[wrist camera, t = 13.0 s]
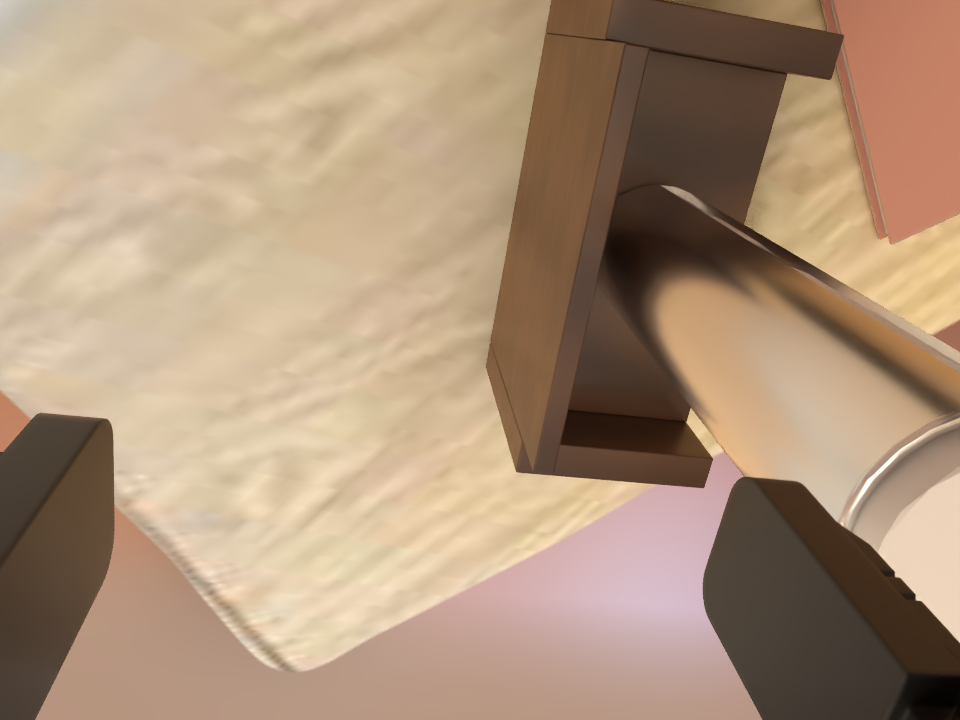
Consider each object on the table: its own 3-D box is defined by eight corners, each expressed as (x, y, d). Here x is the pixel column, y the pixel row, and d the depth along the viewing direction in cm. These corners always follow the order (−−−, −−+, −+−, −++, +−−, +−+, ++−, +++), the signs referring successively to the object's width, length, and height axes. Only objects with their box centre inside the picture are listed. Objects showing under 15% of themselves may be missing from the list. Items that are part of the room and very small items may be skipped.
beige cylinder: (739, 247, 41) (1192, 547, 18) (642, 334, 42) (948, 717, 19) (660, 155, 38) (1065, 364, 15) (560, 250, 40) (797, 572, 17)
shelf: (551, -3, 43) (636, -11, 29) (724, 29, 45) (887, 36, 30) (485, 367, 52) (525, 507, 37) (633, 383, 53) (727, 522, 39)
